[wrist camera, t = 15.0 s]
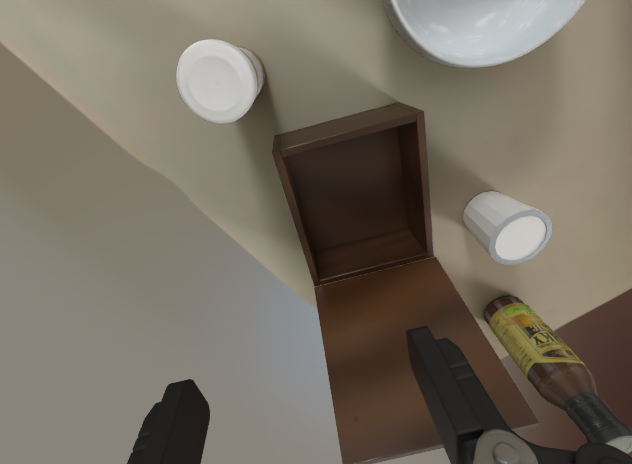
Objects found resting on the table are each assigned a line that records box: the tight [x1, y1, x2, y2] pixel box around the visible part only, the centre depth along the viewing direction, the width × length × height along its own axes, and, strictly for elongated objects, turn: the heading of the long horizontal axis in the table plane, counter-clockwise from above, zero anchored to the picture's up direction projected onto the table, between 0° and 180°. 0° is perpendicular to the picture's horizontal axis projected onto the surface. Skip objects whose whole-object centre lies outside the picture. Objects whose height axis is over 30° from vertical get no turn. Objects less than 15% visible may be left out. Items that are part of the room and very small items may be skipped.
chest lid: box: [314, 257, 539, 464], centre depth 28 cm, size 16×13×1 cm
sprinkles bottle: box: [176, 39, 265, 124], centre depth 24 cm, size 5×5×14 cm
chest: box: [272, 102, 434, 286], centre depth 33 cm, size 15×13×7 cm
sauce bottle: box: [484, 297, 632, 454], centre depth 39 cm, size 6×6×20 cm
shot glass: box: [463, 191, 552, 265], centre depth 37 cm, size 7×7×7 cm
